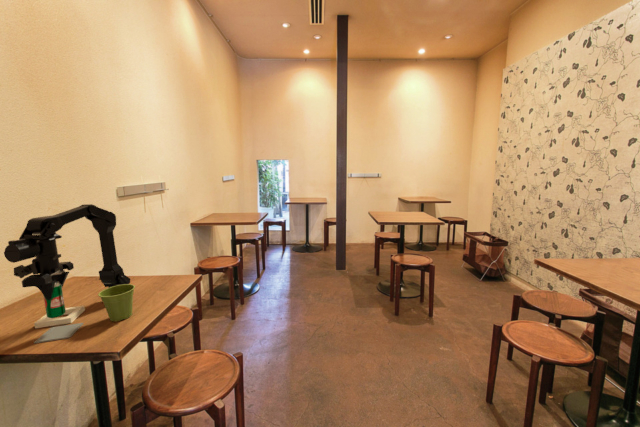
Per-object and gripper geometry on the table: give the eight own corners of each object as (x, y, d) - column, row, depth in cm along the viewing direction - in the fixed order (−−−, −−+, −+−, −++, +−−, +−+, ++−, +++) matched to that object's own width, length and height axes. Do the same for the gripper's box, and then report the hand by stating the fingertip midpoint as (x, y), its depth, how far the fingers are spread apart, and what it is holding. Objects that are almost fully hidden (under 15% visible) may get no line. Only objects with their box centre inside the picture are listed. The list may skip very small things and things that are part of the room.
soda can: (54, 319, 103) (48, 286, 101) (43, 318, 104) (37, 285, 103) (69, 312, 108) (64, 281, 106) (58, 311, 109) (53, 280, 107)
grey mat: (83, 323, 112) (83, 322, 112) (69, 337, 103) (69, 336, 102) (51, 328, 109) (51, 327, 109) (34, 343, 100) (34, 342, 100)
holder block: (84, 310, 124) (84, 305, 123) (71, 323, 113) (70, 318, 113) (52, 314, 120) (51, 309, 120) (35, 328, 110) (34, 323, 110)
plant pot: (107, 313, 120) (103, 287, 118) (141, 308, 124) (138, 282, 122) (97, 327, 109) (93, 298, 107) (134, 321, 113) (131, 293, 111)
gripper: (35, 249, 110) (42, 290, 112) (-4, 264, 92) (5, 311, 94) (71, 246, 113) (77, 286, 115) (40, 260, 95) (48, 306, 97)
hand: (53, 296), depth 105 cm, fingers closed on soda can, 5 cm apart
